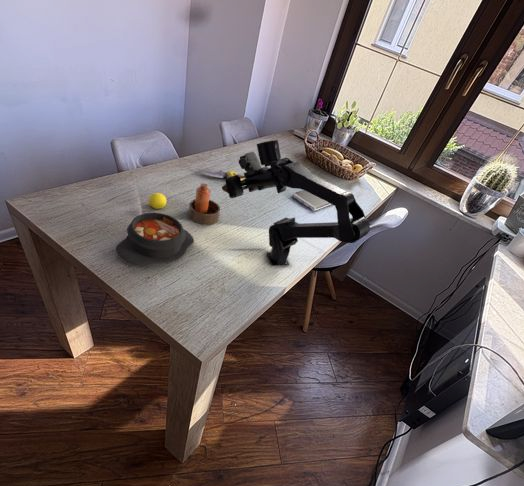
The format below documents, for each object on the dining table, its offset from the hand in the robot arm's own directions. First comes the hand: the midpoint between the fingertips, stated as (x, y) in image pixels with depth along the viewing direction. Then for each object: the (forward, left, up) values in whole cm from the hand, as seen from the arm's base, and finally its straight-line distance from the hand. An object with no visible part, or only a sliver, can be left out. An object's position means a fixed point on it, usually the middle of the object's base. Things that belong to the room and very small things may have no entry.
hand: (232, 185), depth 123 cm
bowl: (+3, +8, -15) cm, 17 cm away
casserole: (-15, +26, -15) cm, 34 cm away
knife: (+33, -8, -15) cm, 37 cm away
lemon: (+8, +23, -15) cm, 29 cm away
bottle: (+4, +8, -14) cm, 17 cm away
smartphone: (+21, -50, -15) cm, 56 cm away
